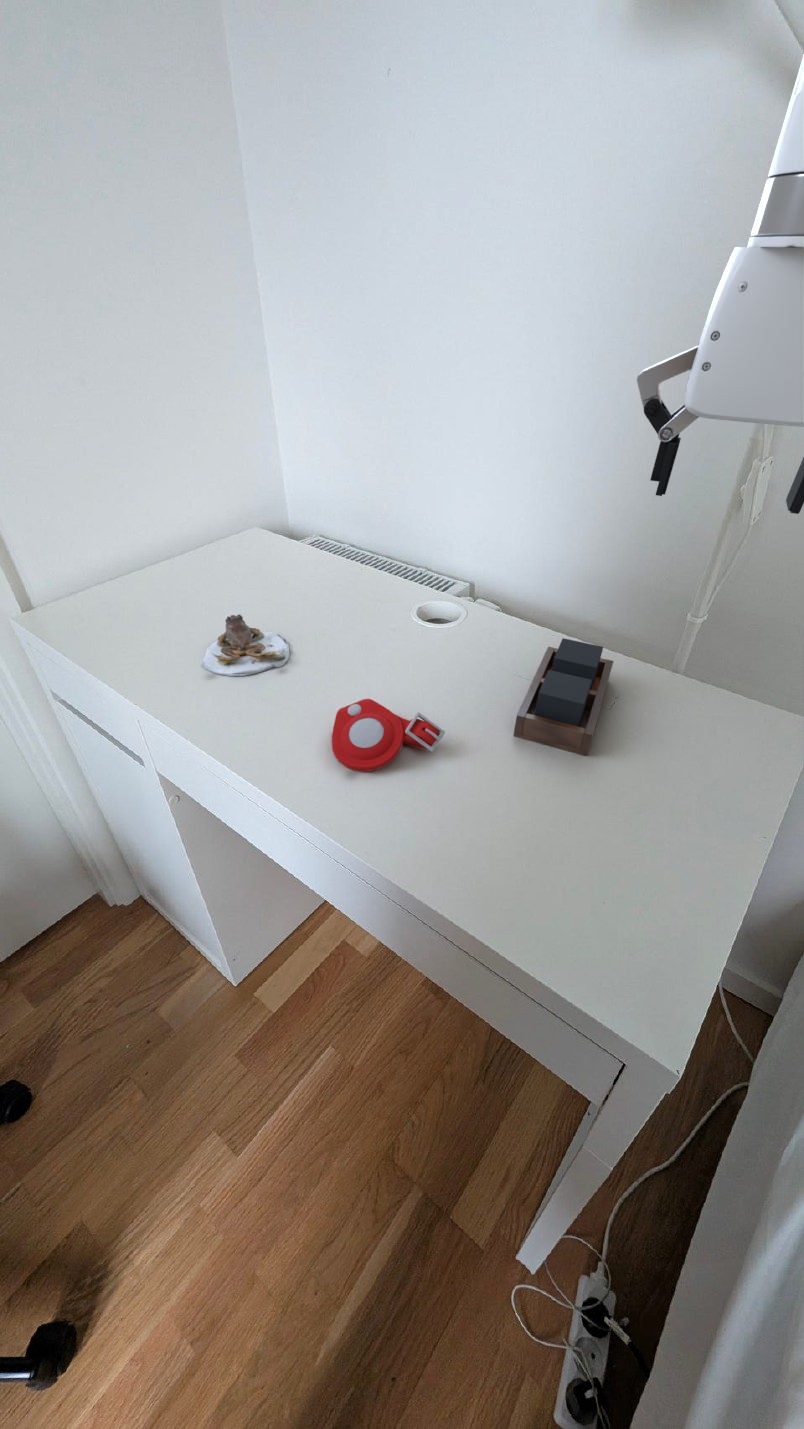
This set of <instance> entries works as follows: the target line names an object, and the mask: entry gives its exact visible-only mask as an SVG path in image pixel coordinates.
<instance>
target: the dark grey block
mask: <svg viewBox="0 0 804 1429" xmlns="http://www.w3.org/2000/svg"><path fill="white" fill-rule="evenodd" d="M557 649H558V650H557V653H556V655H555V657H554V662H553V666H552V671H556V672H560V673H564V674H569V675H573V676H577V677H581V678H586V679H590V680H592V682H591V686H590V690H592V687H593V684H594V680H595V677H596V673H597V669H598V665H599V662H600V658H602V653H603V649H604V647H603V646H602V645H598V644H597V645H596V644H592V643H587V642H583V641H578V640H573V639H569V638H562V639H561V641H560V644H559V645H558V648H557Z"/></svg>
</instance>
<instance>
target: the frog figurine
mask: <svg viewBox="0 0 804 1429" xmlns="http://www.w3.org/2000/svg"><path fill="white" fill-rule="evenodd" d="M290 656H291V653H290V644H289V643H288V641H287V640H286V639H285V638H284V637H282V636H281V635H280V634H279V633H275V632H271V631H264V630H260V629H259V628H255V627H250V626H249V625H247V624H246V621H245V620H244V617H243V615H242V614H237V615H236V614H231V615H230V616H226V618H225V632H224V633H223V634H221V635H219V636H218V637H217V639H216V640H215V641H213V643H212V644H211V645H210V646H209V647H207V648H206V652H205V655H204V656H203V660H202V663H201V666H203V668H204V669H205V670H207V671H209V672H212V673H213V674H217V675H220V676H227V677H245V676H250V675H255V674H259V673H262V672H266V671H267V670H270V669H273V668H275V669H276V668H277V669H278V668H282V667H284V666H285V664H286V663H287V662H288V661H289V659H290Z"/></svg>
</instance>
